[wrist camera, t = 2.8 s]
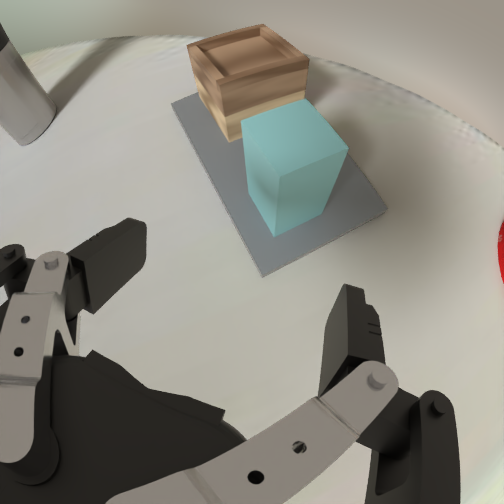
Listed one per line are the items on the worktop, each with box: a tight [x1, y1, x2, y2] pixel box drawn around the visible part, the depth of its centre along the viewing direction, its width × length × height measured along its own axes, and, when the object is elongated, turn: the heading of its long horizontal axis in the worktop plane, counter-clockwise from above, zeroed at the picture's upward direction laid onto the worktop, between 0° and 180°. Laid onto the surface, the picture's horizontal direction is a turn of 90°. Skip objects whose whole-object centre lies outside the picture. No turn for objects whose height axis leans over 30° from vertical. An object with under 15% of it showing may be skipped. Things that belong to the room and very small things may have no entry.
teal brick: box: [241, 98, 349, 237], centre depth 21 cm, size 5×5×10 cm
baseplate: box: [171, 93, 388, 278], centre depth 29 cm, size 24×14×1 cm, turn 27°
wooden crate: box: [187, 24, 309, 143], centre depth 26 cm, size 9×9×8 cm
